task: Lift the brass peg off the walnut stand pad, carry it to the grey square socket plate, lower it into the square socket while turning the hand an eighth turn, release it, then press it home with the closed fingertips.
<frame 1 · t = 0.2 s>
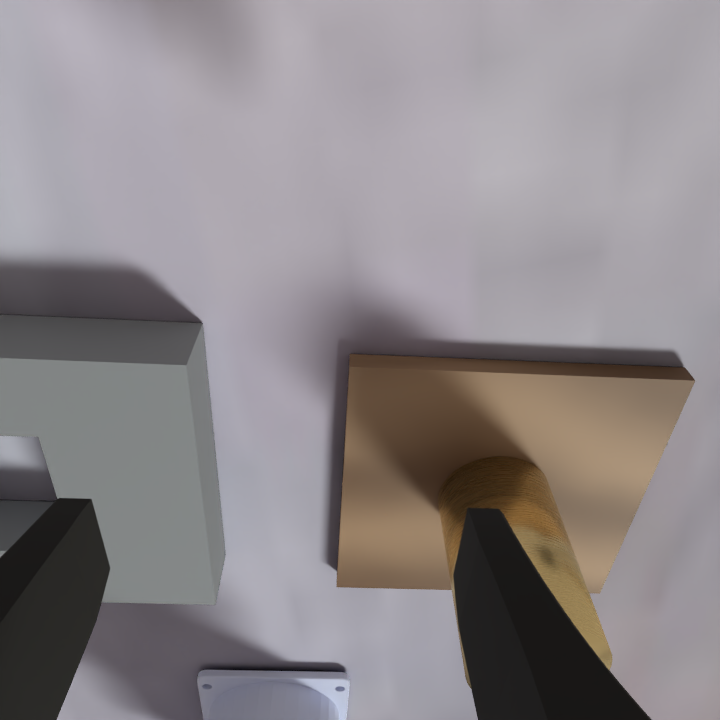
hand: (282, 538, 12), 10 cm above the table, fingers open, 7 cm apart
stand pad: (489, 482, 25), on the table
grey square socket plate: (6, 448, 24), on the table
brass peg: (493, 496, 24), point 1 cm above the table, touching stand pad
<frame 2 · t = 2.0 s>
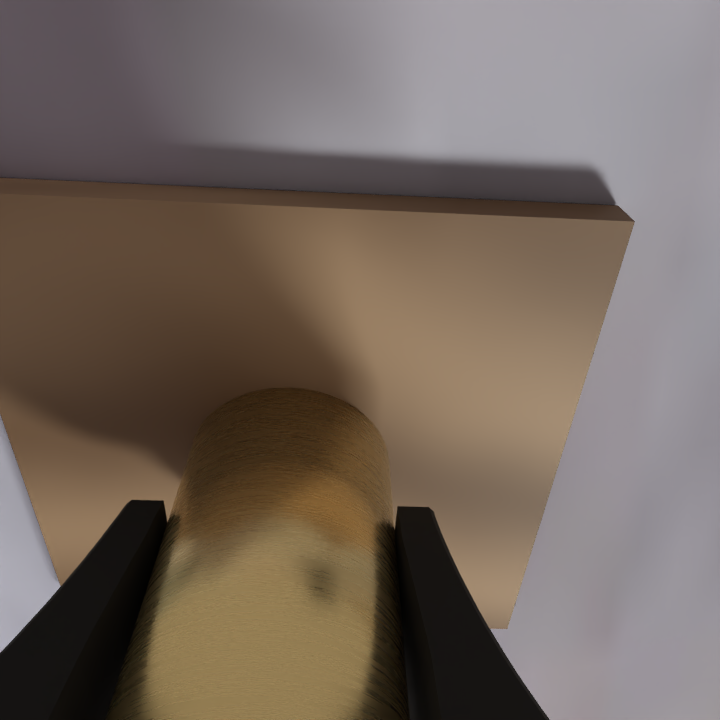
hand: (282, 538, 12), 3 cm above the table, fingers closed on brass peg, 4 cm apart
stand pad: (293, 442, 14), on the table
brass peg: (290, 466, 14), point 1 cm above the table, touching gripper, stand pad
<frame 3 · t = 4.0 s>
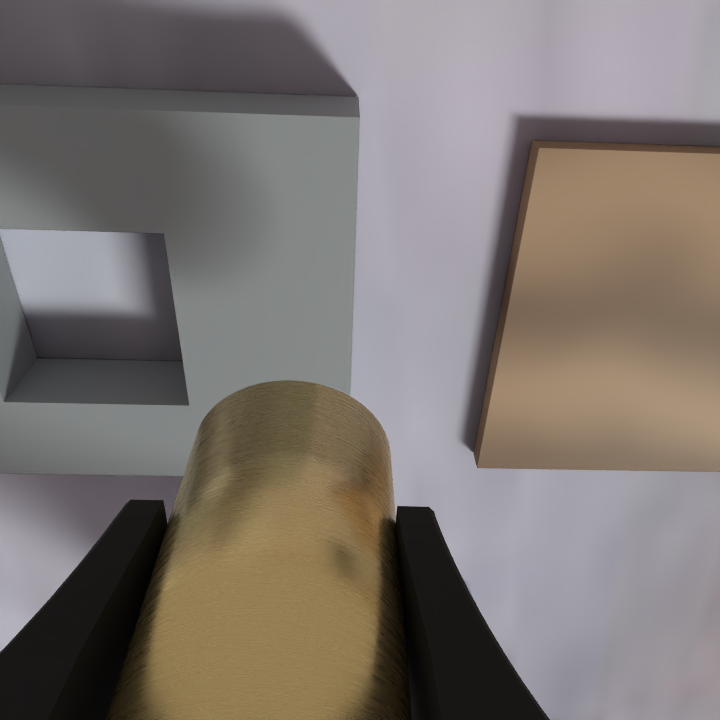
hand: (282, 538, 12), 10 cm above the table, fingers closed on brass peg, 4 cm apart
stand pad: (671, 326, 21), on the table
grey square socket plate: (105, 285, 20), on the table
brass peg: (292, 459, 14), point 8 cm above the table, touching gripper
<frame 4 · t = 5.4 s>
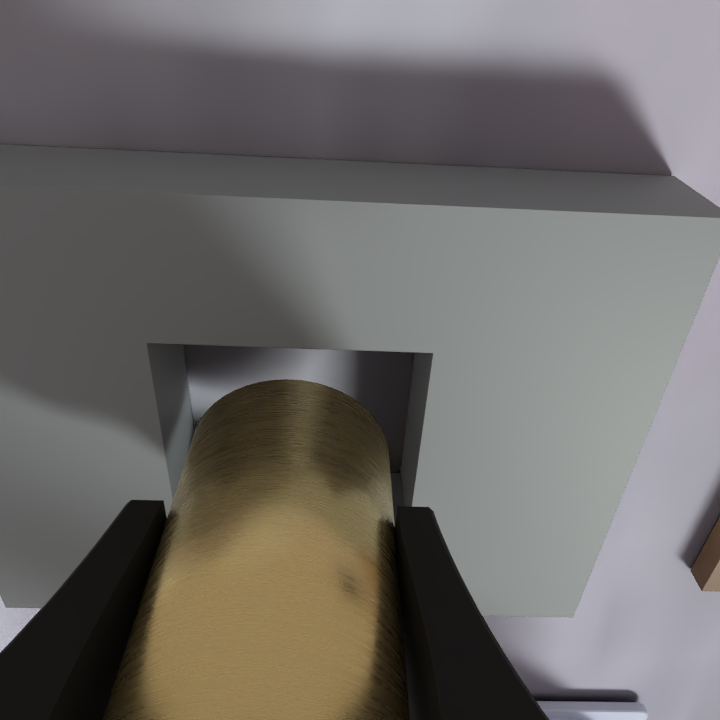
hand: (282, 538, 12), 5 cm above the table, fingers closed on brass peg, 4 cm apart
grey square socket plate: (299, 389, 16), on the table
brass peg: (291, 459, 14), point 3 cm above the table, touching gripper
when the fingers open (3 cm above the table, at t = 6.3 s): brass peg drops 1 cm, resting in grey square socket plate.
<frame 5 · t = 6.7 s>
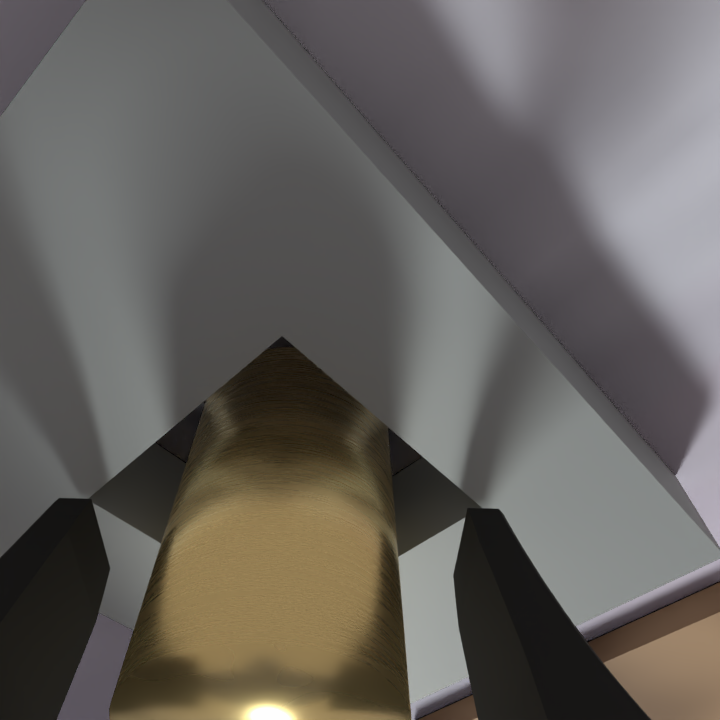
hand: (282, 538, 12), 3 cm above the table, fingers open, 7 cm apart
grey square socket plate: (295, 426, 15), on the table
brass peg: (296, 423, 15), resting in grey square socket plate
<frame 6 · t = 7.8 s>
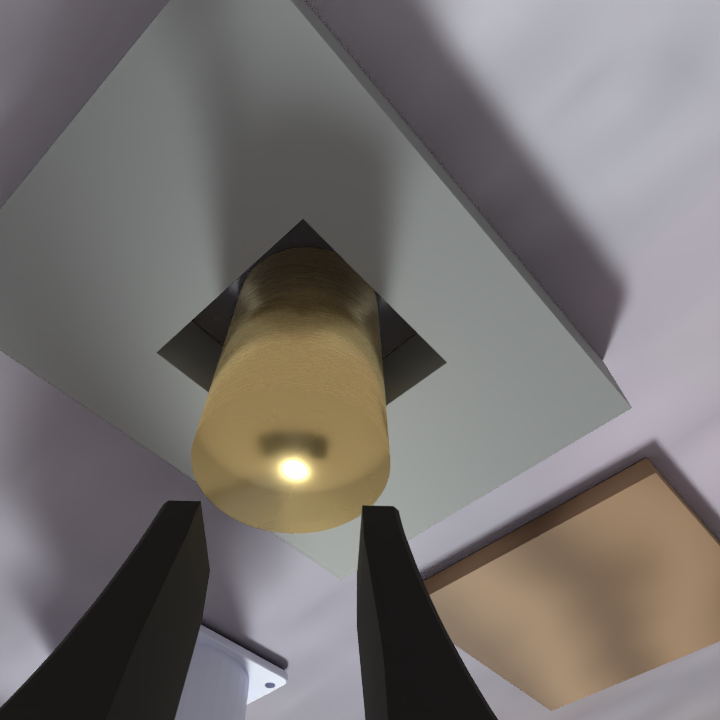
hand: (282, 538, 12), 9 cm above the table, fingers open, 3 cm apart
stand pad: (588, 596, 28), on the table
grey square socket plate: (307, 313, 19), on the table
brass peg: (308, 311, 19), resting in grey square socket plate
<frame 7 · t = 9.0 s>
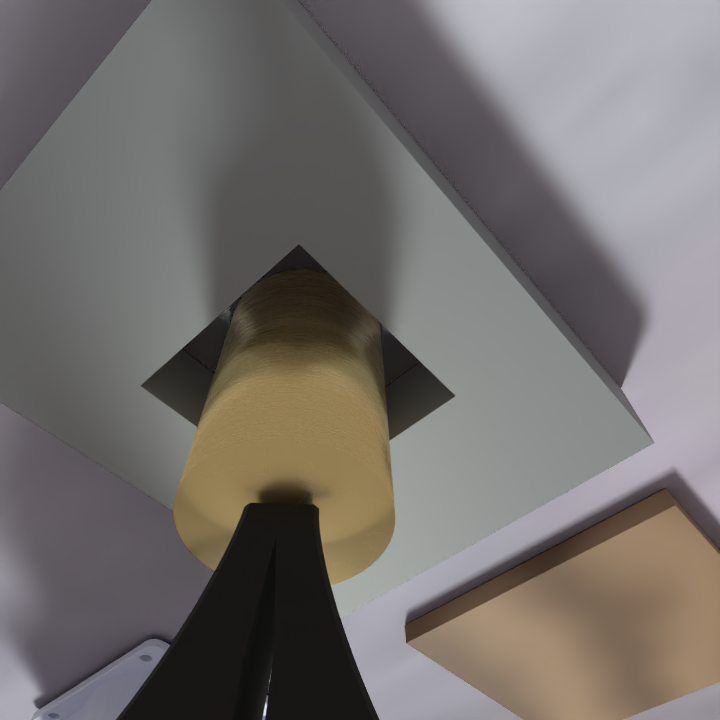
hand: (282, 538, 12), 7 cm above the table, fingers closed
stand pad: (600, 628, 26), on the table
grey square socket plate: (305, 340, 18), on the table
brass peg: (306, 337, 18), resting in grey square socket plate
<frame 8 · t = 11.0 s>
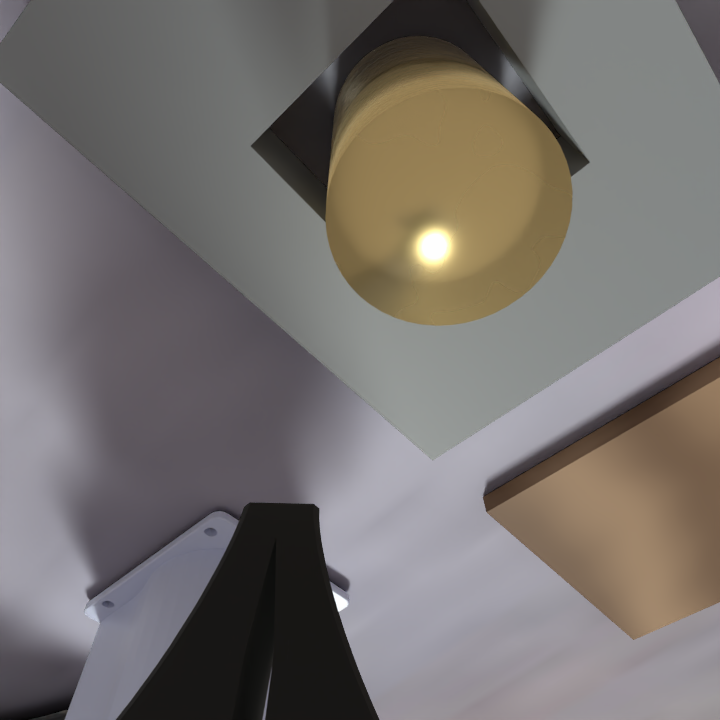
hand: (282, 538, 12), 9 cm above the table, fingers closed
stand pad: (687, 502, 25), on the table
grey square socket plate: (413, 128, 17), on the table
brass peg: (414, 126, 17), resting in grey square socket plate
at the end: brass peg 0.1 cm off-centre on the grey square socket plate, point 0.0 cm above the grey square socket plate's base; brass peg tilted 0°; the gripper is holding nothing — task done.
